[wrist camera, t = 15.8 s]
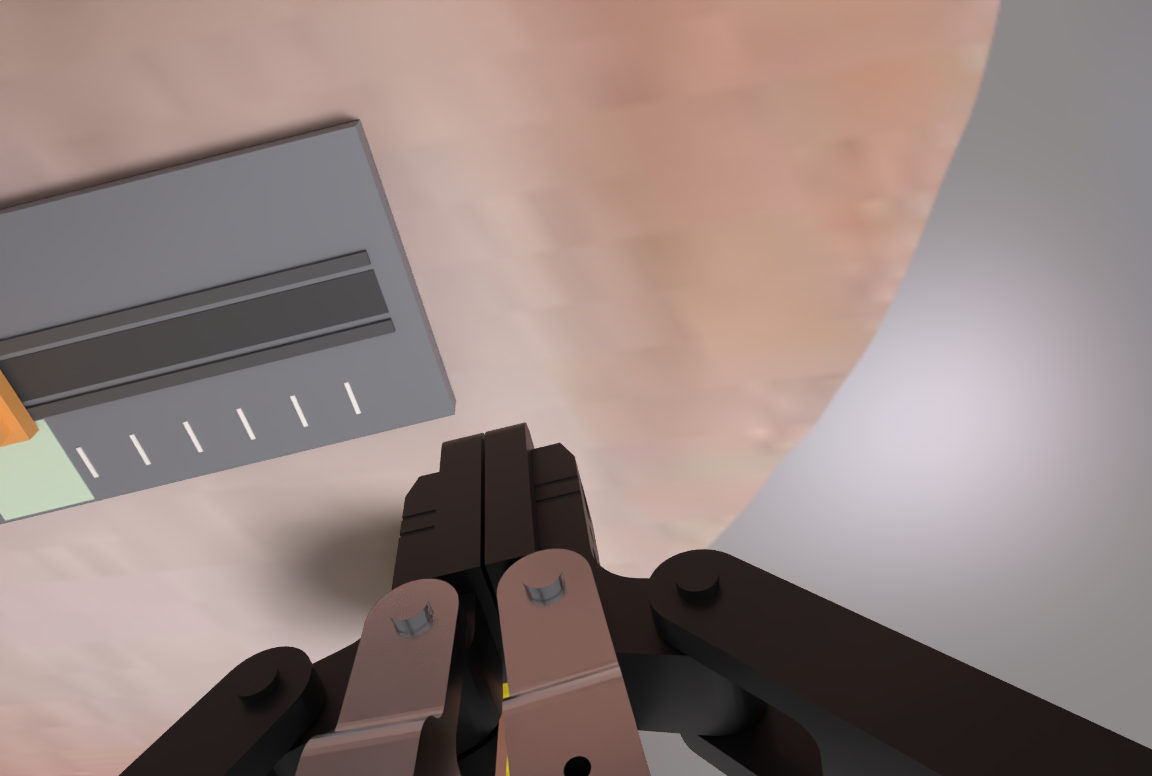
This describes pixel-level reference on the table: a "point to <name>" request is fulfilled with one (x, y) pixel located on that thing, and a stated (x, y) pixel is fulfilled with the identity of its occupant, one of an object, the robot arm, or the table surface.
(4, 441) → the block
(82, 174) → the table surface
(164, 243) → the fader board
